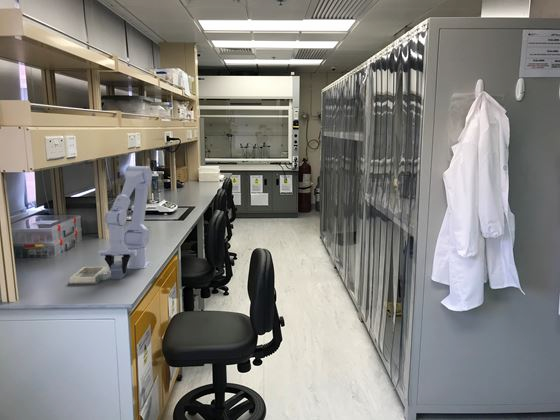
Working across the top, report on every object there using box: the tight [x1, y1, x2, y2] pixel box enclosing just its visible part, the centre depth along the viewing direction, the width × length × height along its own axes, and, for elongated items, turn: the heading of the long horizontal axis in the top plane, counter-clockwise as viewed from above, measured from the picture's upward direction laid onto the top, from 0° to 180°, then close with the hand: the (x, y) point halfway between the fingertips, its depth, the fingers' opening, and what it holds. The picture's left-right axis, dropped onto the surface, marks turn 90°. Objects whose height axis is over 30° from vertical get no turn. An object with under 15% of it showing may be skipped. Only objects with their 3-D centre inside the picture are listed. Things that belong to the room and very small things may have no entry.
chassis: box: [67, 266, 110, 286], centre depth 176 cm, size 15×12×3 cm
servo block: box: [109, 260, 127, 280], centre depth 179 cm, size 10×4×6 cm, turn 4°
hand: (118, 272), depth 179 cm, fingers closed on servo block, 4 cm apart
